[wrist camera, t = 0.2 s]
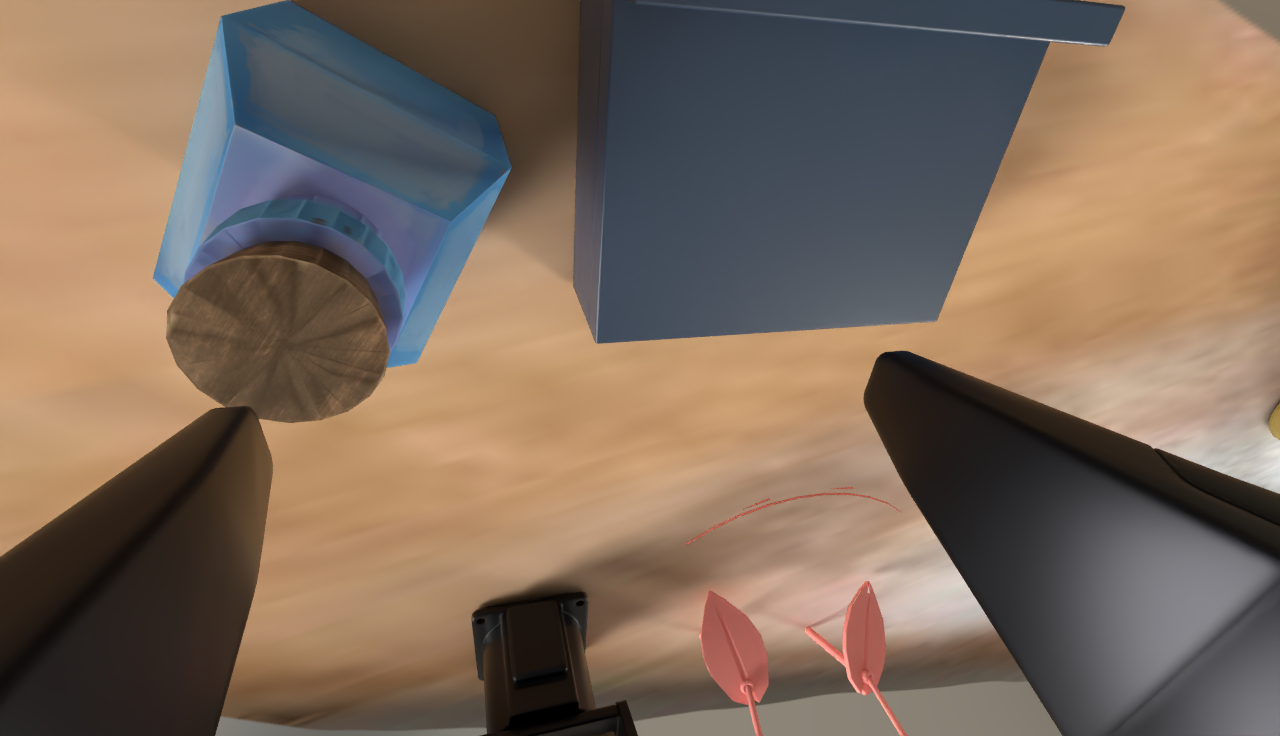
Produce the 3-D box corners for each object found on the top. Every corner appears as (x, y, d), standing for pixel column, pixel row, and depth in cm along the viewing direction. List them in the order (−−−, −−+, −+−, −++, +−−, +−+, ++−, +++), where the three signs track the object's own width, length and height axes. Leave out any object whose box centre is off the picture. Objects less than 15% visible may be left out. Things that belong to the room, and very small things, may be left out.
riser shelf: (873, 275, 27) (972, 348, 22) (572, 287, 24) (608, 377, 19) (963, -5, 21) (1128, 5, 16) (581, -47, 18) (636, -51, 13)
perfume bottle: (423, 272, 22) (405, 514, 12) (229, 195, 19) (6, 436, 9) (495, 115, 20) (542, 261, 10) (287, 0, 17) (74, 52, 7)
